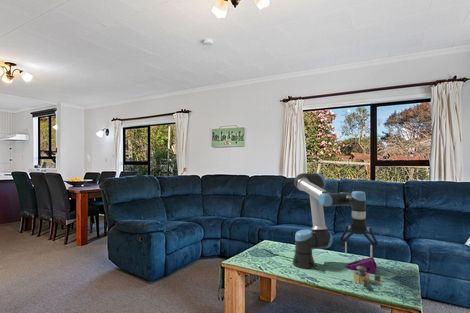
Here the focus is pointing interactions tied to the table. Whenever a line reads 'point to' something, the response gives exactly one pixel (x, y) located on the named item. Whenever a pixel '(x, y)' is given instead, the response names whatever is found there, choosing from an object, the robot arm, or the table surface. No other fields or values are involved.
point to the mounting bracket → (364, 265)
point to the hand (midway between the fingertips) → (358, 254)
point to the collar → (361, 278)
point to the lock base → (362, 273)
